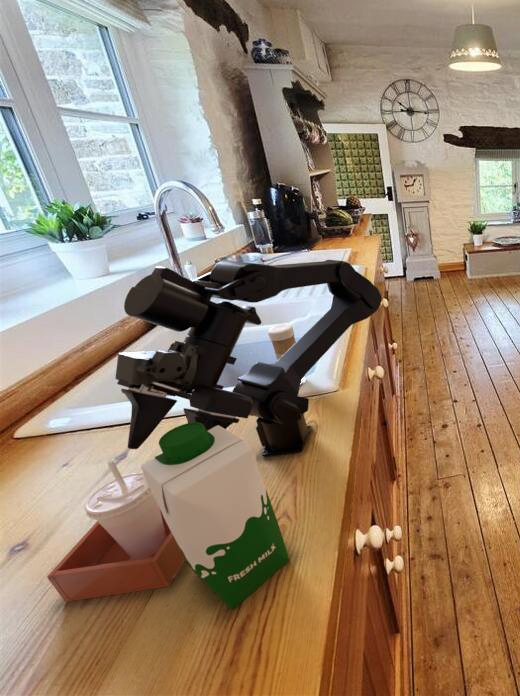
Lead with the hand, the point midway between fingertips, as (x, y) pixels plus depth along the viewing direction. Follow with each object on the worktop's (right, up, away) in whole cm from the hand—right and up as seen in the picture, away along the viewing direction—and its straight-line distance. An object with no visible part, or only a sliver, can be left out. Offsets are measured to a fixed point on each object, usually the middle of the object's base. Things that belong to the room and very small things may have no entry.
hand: (154, 457), depth 52 cm
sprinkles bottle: (-1, +3, +37) cm, 37 cm away
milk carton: (+13, -13, -2) cm, 19 cm away
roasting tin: (-1, -12, +1) cm, 12 cm away
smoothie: (-1, -12, +1) cm, 12 cm away
